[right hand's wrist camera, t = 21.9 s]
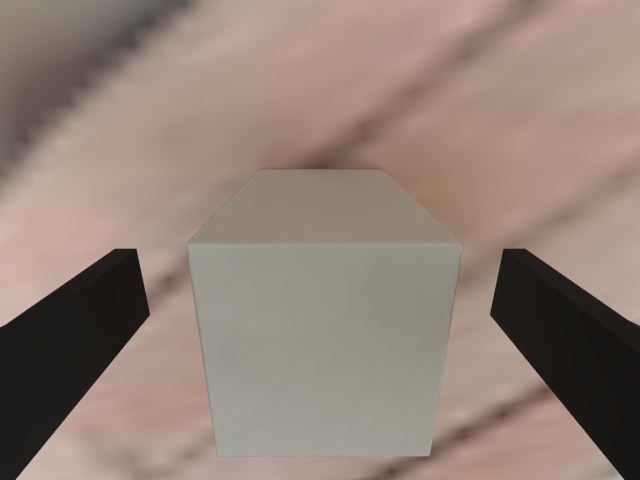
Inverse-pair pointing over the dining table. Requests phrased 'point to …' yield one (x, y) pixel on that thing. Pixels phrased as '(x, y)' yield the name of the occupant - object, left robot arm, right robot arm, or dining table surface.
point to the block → (323, 315)
